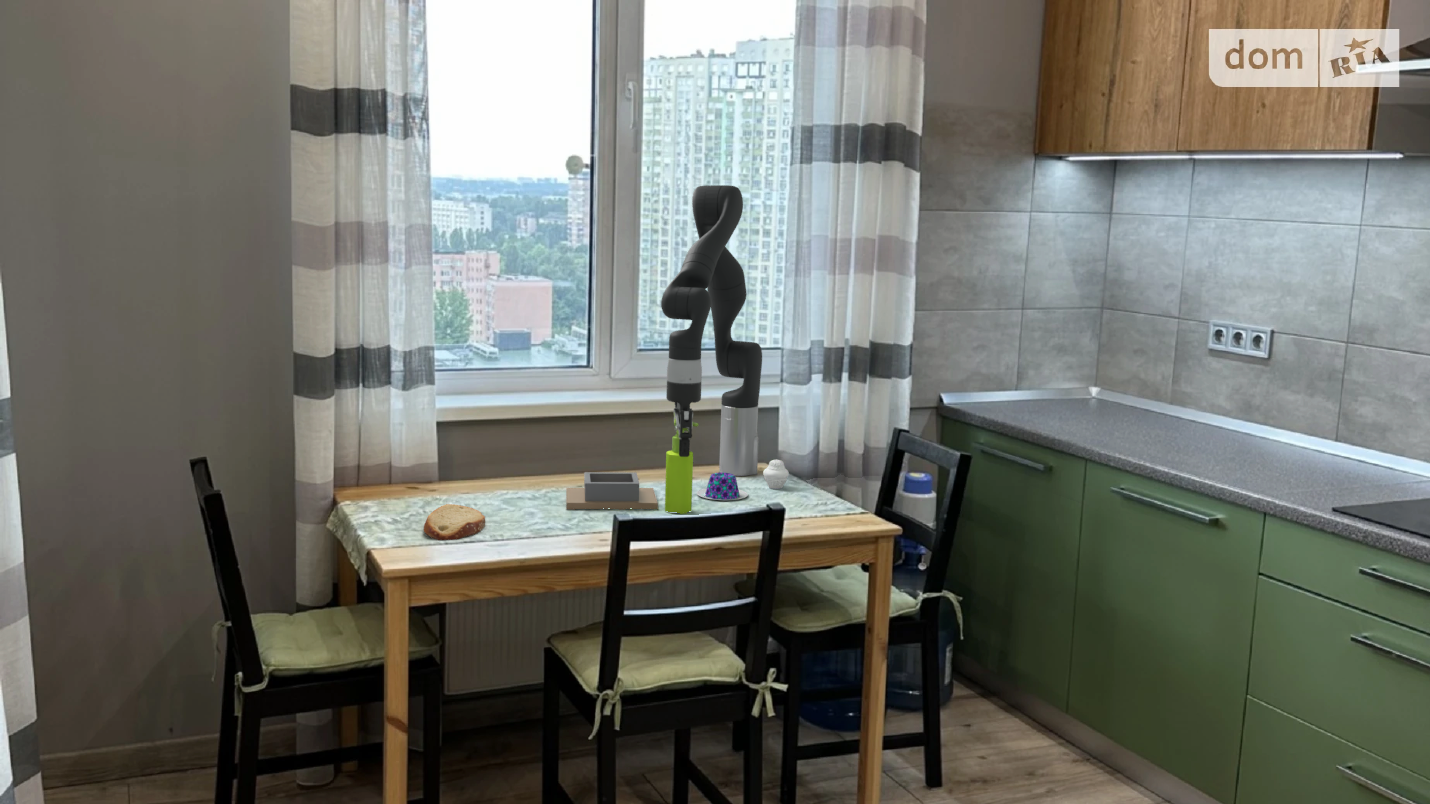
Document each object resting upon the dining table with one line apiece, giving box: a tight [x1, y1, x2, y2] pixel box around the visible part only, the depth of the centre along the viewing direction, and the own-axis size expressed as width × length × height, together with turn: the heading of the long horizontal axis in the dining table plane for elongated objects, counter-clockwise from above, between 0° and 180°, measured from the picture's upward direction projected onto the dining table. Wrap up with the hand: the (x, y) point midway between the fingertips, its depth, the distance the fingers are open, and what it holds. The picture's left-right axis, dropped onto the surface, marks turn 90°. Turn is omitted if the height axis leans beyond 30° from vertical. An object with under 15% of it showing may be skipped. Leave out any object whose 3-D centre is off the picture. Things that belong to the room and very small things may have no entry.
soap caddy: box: [565, 471, 659, 510], centre depth 277 cm, size 20×14×6 cm
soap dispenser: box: [664, 421, 700, 515], centre depth 270 cm, size 6×7×20 cm
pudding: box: [696, 472, 749, 501], centre depth 287 cm, size 12×12×5 cm
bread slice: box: [423, 503, 486, 541], centre depth 254 cm, size 18×18×4 cm
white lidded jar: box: [762, 458, 790, 490], centre depth 296 cm, size 6×6×7 cm
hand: (682, 452), depth 270 cm, fingers open, 8 cm apart
